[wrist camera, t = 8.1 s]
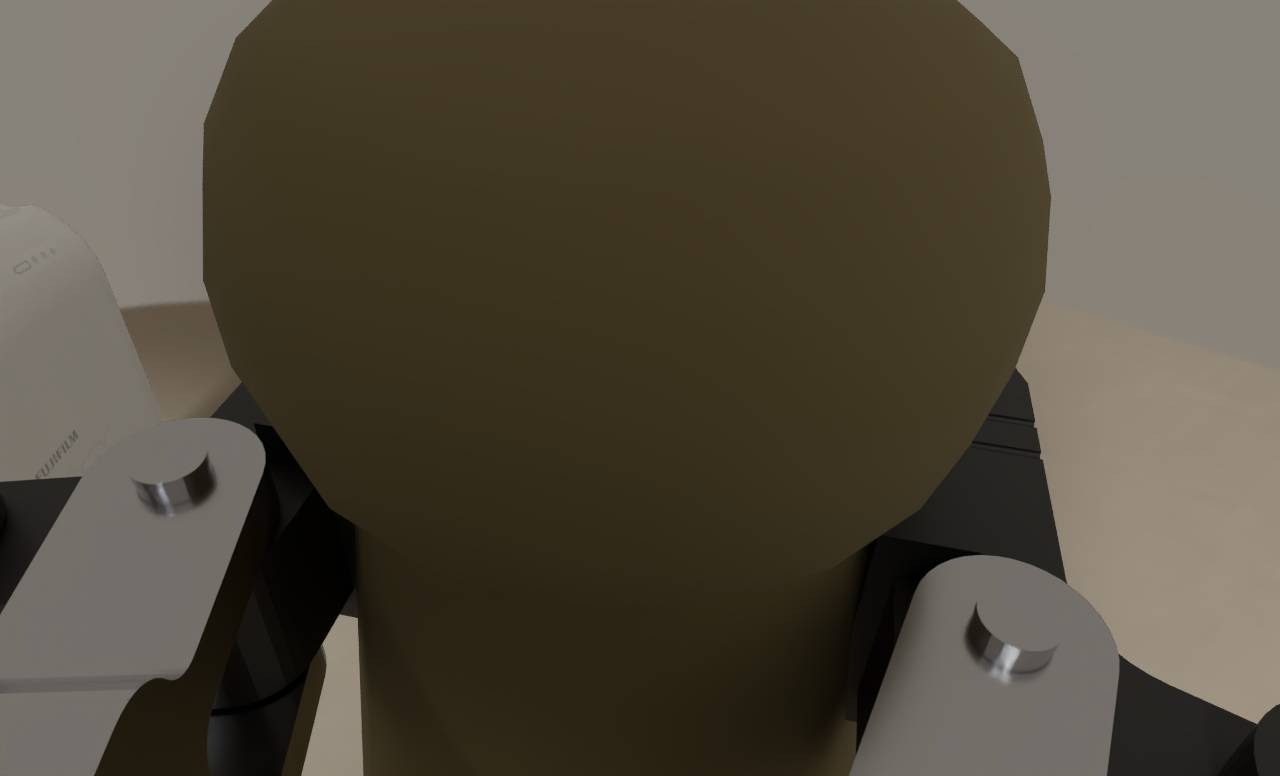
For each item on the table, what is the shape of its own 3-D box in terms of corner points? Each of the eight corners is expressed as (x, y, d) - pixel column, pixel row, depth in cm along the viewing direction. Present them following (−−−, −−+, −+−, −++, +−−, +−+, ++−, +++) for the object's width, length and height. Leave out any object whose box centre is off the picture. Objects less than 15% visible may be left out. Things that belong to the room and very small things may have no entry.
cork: (607, 597, 15) (622, -173, 8) (932, 855, 12) (1382, -37, 5) (273, 866, 12) (-171, -85, 5) (611, 1333, 9) (698, 495, 2)
